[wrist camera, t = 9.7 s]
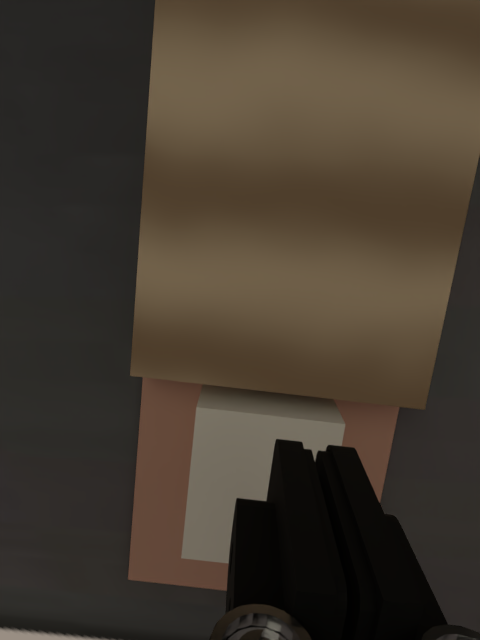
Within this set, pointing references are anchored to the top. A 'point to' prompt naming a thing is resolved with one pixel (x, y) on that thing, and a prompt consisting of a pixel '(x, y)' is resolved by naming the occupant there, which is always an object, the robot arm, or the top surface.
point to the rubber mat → (174, 469)
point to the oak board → (305, 193)
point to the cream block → (244, 456)
